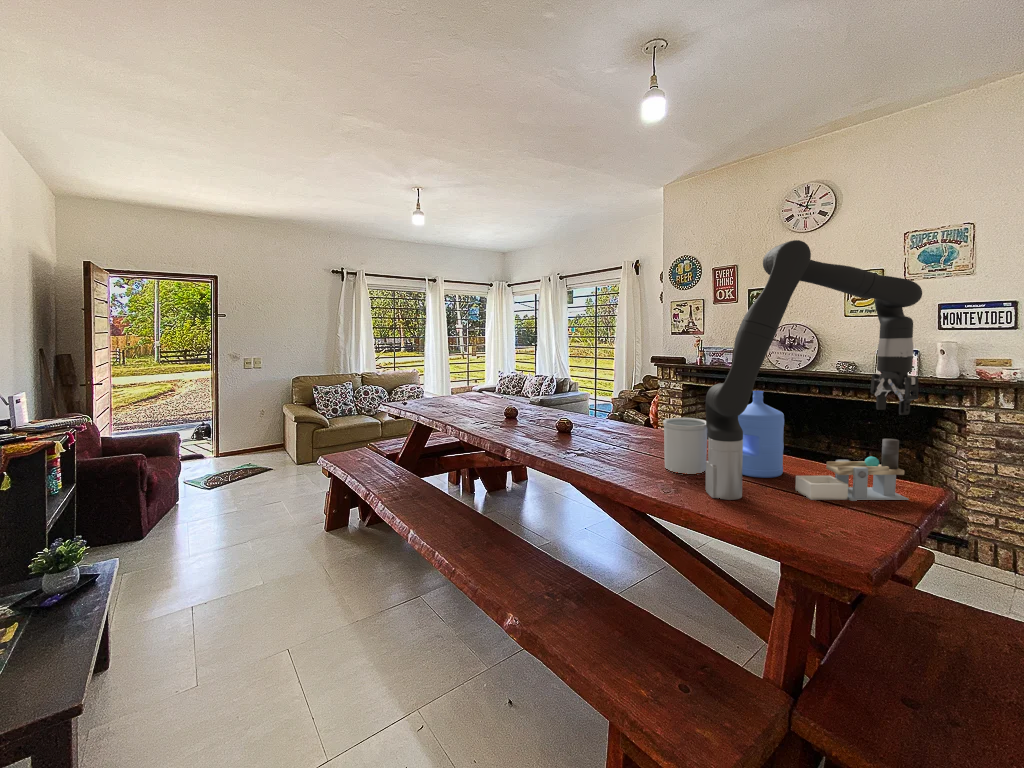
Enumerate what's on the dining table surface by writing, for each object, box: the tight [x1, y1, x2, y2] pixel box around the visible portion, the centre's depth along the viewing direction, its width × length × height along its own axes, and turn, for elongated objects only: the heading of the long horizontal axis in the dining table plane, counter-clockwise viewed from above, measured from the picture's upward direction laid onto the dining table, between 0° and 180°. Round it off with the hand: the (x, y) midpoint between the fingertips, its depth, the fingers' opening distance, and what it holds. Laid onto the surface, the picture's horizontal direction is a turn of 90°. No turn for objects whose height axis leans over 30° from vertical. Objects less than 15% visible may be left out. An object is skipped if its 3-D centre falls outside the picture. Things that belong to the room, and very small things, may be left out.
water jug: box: [738, 390, 785, 479], centre depth 151 cm, size 16×16×28 cm
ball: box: [864, 455, 880, 466], centre depth 126 cm, size 3×3×3 cm
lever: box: [825, 438, 905, 476], centre depth 126 cm, size 17×6×9 cm, turn 84°
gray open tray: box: [795, 475, 849, 501], centre depth 128 cm, size 10×8×4 cm
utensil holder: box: [662, 417, 708, 474], centre depth 157 cm, size 15×15×18 cm
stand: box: [834, 459, 910, 502], centre depth 127 cm, size 15×10×9 cm, turn 84°
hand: (892, 411), depth 124 cm, fingers open, 8 cm apart
